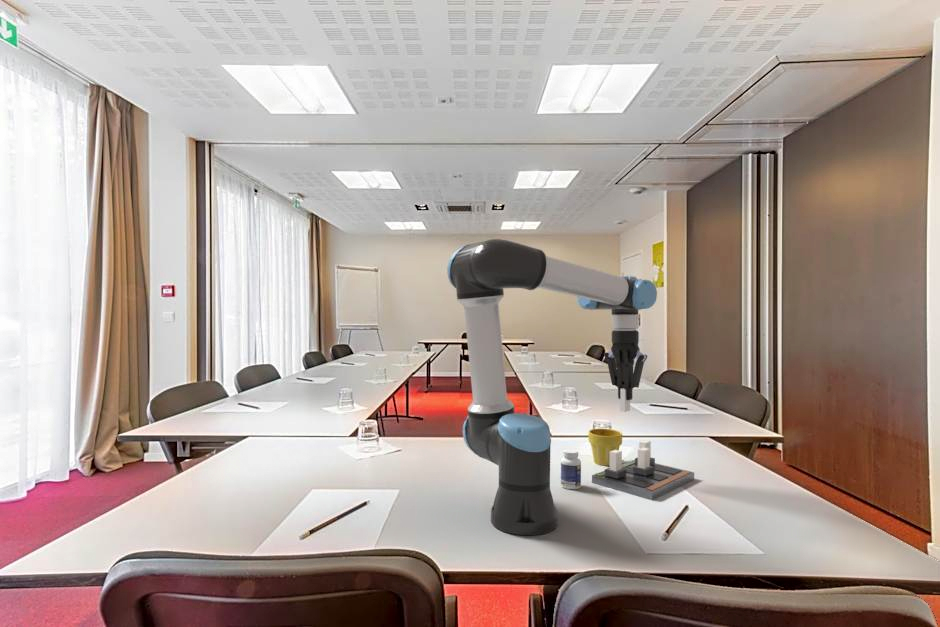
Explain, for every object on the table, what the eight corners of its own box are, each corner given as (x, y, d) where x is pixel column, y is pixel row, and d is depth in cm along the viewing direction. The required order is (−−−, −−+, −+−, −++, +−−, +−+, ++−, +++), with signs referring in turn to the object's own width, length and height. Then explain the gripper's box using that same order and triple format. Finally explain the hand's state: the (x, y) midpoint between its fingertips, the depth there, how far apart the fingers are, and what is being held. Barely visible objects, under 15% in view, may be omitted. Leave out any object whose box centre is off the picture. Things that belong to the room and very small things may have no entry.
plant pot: (626, 468, 156) (626, 436, 156) (592, 467, 156) (592, 435, 156) (617, 458, 166) (617, 428, 166) (585, 458, 166) (585, 428, 166)
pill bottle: (581, 490, 136) (581, 454, 136) (560, 489, 137) (560, 453, 137) (580, 483, 141) (580, 448, 141) (561, 482, 142) (561, 447, 142)
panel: (652, 500, 129) (652, 491, 129) (591, 482, 142) (591, 474, 142) (694, 479, 145) (694, 471, 145) (636, 465, 159) (636, 458, 159)
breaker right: (647, 466, 149) (647, 444, 149) (634, 463, 152) (635, 441, 152) (654, 463, 152) (654, 441, 152) (642, 460, 155) (642, 439, 155)
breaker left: (617, 478, 138) (617, 454, 138) (604, 475, 141) (604, 451, 141) (626, 475, 141) (626, 451, 141) (613, 471, 144) (613, 448, 144)
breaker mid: (646, 475, 141) (646, 452, 141) (633, 472, 144) (633, 449, 144) (654, 472, 144) (654, 449, 144) (641, 469, 147) (641, 446, 147)
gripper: (652, 329, 146) (652, 412, 146) (612, 328, 156) (612, 406, 156) (638, 330, 141) (639, 415, 141) (598, 329, 150) (598, 409, 151)
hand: (625, 410), depth 148 cm, fingers closed
